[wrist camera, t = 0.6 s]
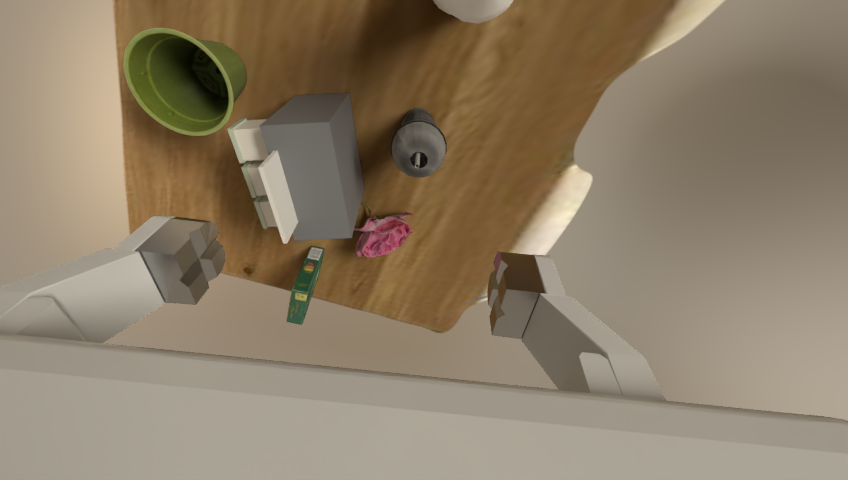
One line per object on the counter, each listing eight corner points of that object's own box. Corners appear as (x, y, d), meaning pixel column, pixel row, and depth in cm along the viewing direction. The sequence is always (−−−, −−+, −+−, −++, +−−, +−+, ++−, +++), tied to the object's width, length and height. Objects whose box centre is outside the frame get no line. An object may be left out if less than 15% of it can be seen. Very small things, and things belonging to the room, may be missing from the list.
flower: (415, 217, 70) (412, 267, 66) (365, 216, 70) (359, 265, 67) (411, 189, 59) (407, 246, 55) (351, 188, 60) (344, 245, 56)
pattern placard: (272, 150, 43) (256, 167, 39) (277, 150, 43) (262, 167, 39) (293, 222, 48) (282, 243, 44) (298, 222, 48) (287, 243, 44)
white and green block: (253, 155, 50) (241, 167, 46) (303, 152, 50) (295, 164, 46) (263, 183, 52) (252, 198, 49) (311, 181, 52) (303, 195, 49)
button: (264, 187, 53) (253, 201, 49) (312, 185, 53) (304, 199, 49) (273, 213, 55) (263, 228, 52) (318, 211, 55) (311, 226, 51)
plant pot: (258, 124, 56) (226, 150, 46) (175, 92, 53) (124, 113, 44) (271, 45, 50) (238, 56, 40) (179, 4, 47) (120, 7, 38)
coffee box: (310, 243, 69) (290, 289, 58) (325, 247, 69) (308, 293, 58) (304, 274, 73) (285, 323, 62) (318, 277, 73) (302, 326, 63)
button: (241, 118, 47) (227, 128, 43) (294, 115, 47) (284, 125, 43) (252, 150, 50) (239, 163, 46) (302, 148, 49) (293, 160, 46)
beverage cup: (400, 149, 58) (394, 210, 42) (390, 103, 54) (378, 151, 38) (445, 140, 58) (456, 199, 41) (437, 93, 54) (446, 137, 37)
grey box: (295, 95, 53) (259, 125, 41) (349, 92, 53) (328, 122, 41) (318, 192, 62) (294, 240, 50) (364, 189, 62) (351, 237, 50)
